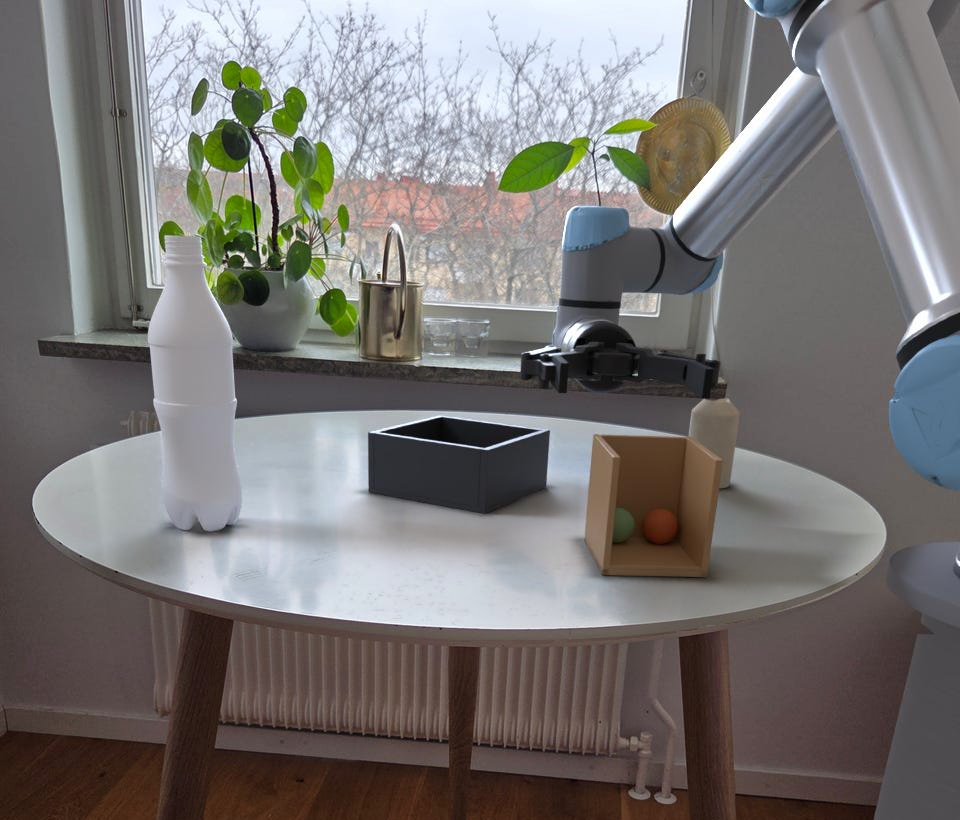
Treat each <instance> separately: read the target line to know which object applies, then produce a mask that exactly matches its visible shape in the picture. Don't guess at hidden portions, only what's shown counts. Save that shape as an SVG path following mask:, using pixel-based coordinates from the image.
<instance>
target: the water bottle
mask: <svg viewBox="0 0 960 820" xmlns="http://www.w3.org/2000/svg"><path fill="white" fill-rule="evenodd" d="M163 239H164V249H165V254H164V255H163V257H164V258H165V260H163V263H162V266H165V267H166V269H165V271H166V272H165V273H166V275H165V282H164V286H163V289H162V292H161V294H160V296H159V298H158V301H157V303H156V305H155V308H154V309H153V313H152V315H151V318H150V321H149V325H148V331H147V343H148V345H149V353H150V362H151V375H152V385H153V395H154V398H153V400H152V402H153V408H154V410H155V413H156V416H157V421H158V424H159V427H160V431H161V439H162V449H163V451H162V452H163V464H162V474H161V482H160V487H161V497H162V502H163V505H164V508H165V511H166V514H167V515H168V517H169V519H170V520H171V522H172V523H173V525H174V526H175V527H176V528H177V529H180V530H182V531H189V530H191V529H192V528H193V526H194V525H195V524H196V522H197V521H198V522H199V523H200V525H201V527H202V529H203V530H204V531H205V532H216V531H220V530H223V529H224V528H225V527H226V525H227V526H232V525H234V524H236V523H237V521H238V519H239V517H240V514H241V510H242V506H243V480H242V476H241V473H240V469H239V467H238V466H239V465H238V462H237V456H236V451H235V450H236V449H235V448H236V447H235V418H236V412H237V411H236V410H237V406H238V405H237V404H238V400H237V398H236V389H235V387H236V385H235V371H234V369H235V368H234V354H233V345H234V339H233V333H232V329H231V326H230V324H229V322H228V320H227V318H226V316H225V314H224V312H223V310H222V308H221V307H220V305H219V303H218V301H217V300H216V298H215V296H214V295H213V293H212V290H211V289H210V286H209V283H208V281H207V277H206V273H205V272H206V271H205V268H208V264H207V263H206V262H205V261H204V259H205V258H206V257H205V256H204V255H203V245H202V243H203V241H202V236H192V235H191V236H190V235H170V234H169V235H168V234H164V237H163Z"/></svg>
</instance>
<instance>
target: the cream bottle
mask: <svg viewBox="0 0 960 820" xmlns="http://www.w3.org/2000/svg"><path fill="white" fill-rule="evenodd" d="M740 416H741V413H740V411H739V410H738V408H736V406H735V405H734V404H733V403H732V401H731V400H730V398H718V399H716V400H709V399H706V398H702V399H701V401H700V402H699V403H698V404H697V405H695V406H694V407H693V408H692V409H691V413H690V421H689V427H688V436H687V437H692V438H693V439H694V440H696V441H697V442H699V443H700V444H701V445H703V446H704V447H705V448H707V449H708V450H710V451H711V452H712V453H714V454H715V455H716V456H718V457H719V458H721V459H722V460H723V465H722V472H721V479H720V486H719V489H726V488H728V487H729V486H730V484H731V479H732V471H733V465H734V458H735V453H736V452H735V451H736V446H737V445H736V444H737V437H738V430H739V422H740V418H741V417H740Z"/></svg>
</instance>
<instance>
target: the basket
mask: <svg viewBox="0 0 960 820" xmlns="http://www.w3.org/2000/svg"><path fill="white" fill-rule="evenodd" d="M550 438H551V430H550V429H544V428H537V427H529V426H523V425H516V424H515V425H514V424H507V423H500V422H493V421H492V422H491V421H485V420H478V419H470V418H463V417H455V416H446V415H441V414H439V415H435V416H431V417H426V418H422V419H418V420H413V421H410V422H406V423H405V422H404V423H402V424H398V425H392V426H388V427H385V428H381V429H377V430H373V431H368V432H367V468H368V469H367V472H368V473H367V474H368V475H367V476H368V477H367V478H368V481H367V482H368V483H367V484H368V486H367V487H368V491H367V492H368V493H370V494H375V495H376V494H377V495H382V496H387V497H393V498H398V499H403V500H410V501H415V502H420V503H425V504H431V505H436V506H441V507H447V508H452V509H458V510H464V511H470V512H475V513H481V514H487V513H490V512H491V511H494V510H496V509H499V508H502V507H503V506H506V505H509V504H510V503H513V502H515V501H518V500H520V499H522V498H524V497H526V496H528V495H529V496H530V495H531V494H533V493H535V492H537V491H540V490H543V489H545V488H547V482H548V468H549V467H548V465H549V454H550V453H549V451H550V440H551V439H550Z"/></svg>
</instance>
